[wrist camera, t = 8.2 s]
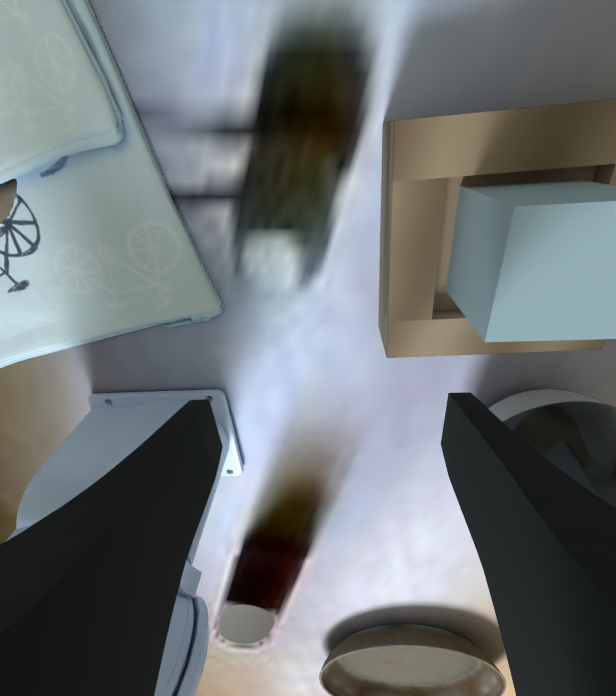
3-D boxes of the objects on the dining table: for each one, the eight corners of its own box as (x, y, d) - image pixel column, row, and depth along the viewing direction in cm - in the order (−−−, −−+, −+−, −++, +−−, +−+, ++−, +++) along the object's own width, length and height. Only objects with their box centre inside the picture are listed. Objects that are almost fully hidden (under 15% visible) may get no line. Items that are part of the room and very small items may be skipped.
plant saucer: (311, 675, 49) (310, 709, 46) (331, 601, 38) (332, 639, 35) (461, 692, 49) (469, 726, 46) (523, 622, 38) (538, 661, 35)
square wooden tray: (378, 325, 21) (386, 357, 18) (382, 123, 16) (395, 120, 13) (560, 317, 20) (601, 349, 17) (626, 100, 15) (701, 90, 12)
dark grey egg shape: (618, 344, 21) (1121, 706, 7) (595, 466, 26) (874, 811, 12) (436, 377, 22) (586, 714, 9) (448, 485, 27) (557, 803, 14)
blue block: (445, 289, 17) (484, 342, 13) (460, 185, 15) (514, 206, 10) (544, 286, 16) (621, 338, 12) (576, 178, 14) (683, 197, 10)
